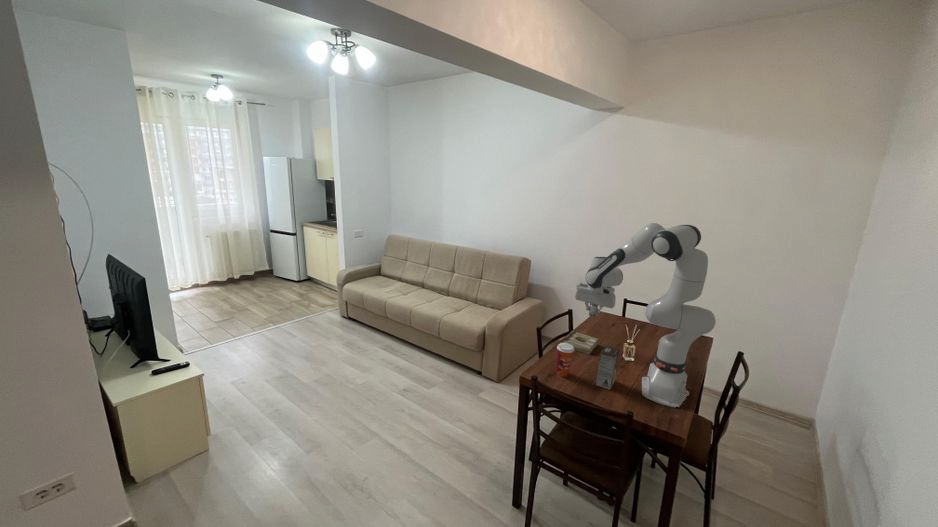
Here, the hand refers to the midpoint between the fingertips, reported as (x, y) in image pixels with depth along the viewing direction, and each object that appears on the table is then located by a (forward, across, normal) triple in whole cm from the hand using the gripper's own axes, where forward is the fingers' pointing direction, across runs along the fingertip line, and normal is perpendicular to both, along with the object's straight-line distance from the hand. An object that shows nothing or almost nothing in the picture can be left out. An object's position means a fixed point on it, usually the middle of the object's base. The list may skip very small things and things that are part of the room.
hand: (593, 311), depth 196 cm
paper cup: (+19, +1, -38) cm, 43 cm away
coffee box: (+19, +19, -32) cm, 42 cm away
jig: (+19, -3, -4) cm, 20 cm away
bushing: (+2, 0, 0) cm, 2 cm away
